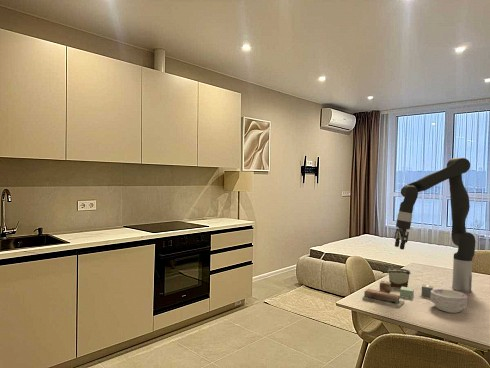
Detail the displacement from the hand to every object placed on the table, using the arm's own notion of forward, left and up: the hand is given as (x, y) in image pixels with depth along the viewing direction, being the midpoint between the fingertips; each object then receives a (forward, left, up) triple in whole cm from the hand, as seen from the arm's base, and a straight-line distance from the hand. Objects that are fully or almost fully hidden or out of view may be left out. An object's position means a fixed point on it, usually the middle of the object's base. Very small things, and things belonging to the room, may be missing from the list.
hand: (399, 248), depth 204 cm
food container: (0, -1, -23) cm, 23 cm away
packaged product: (+2, +32, -23) cm, 39 cm away
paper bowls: (-26, +25, -23) cm, 42 cm away
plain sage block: (-7, +15, -23) cm, 28 cm away
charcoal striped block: (-16, +7, -23) cm, 28 cm away
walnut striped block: (+4, +14, -23) cm, 27 cm away
